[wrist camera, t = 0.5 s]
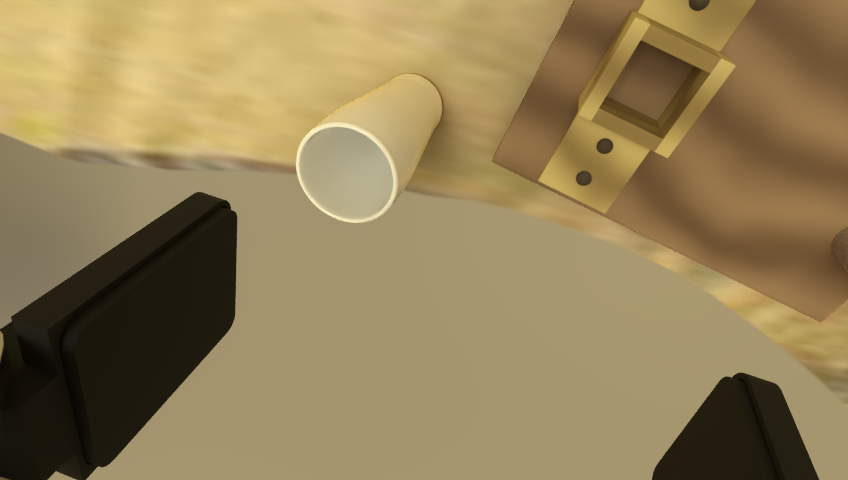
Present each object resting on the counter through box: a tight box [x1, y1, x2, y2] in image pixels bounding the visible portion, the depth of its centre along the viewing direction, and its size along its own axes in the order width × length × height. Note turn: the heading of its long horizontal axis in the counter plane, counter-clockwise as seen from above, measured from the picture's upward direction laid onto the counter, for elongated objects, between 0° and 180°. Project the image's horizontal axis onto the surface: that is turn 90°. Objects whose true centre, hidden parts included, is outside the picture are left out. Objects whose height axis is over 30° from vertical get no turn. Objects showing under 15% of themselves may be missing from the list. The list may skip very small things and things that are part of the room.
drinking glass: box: [296, 74, 442, 223], centre depth 38 cm, size 7×7×15 cm
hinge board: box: [492, 0, 848, 322], centre depth 37 cm, size 22×30×5 cm
